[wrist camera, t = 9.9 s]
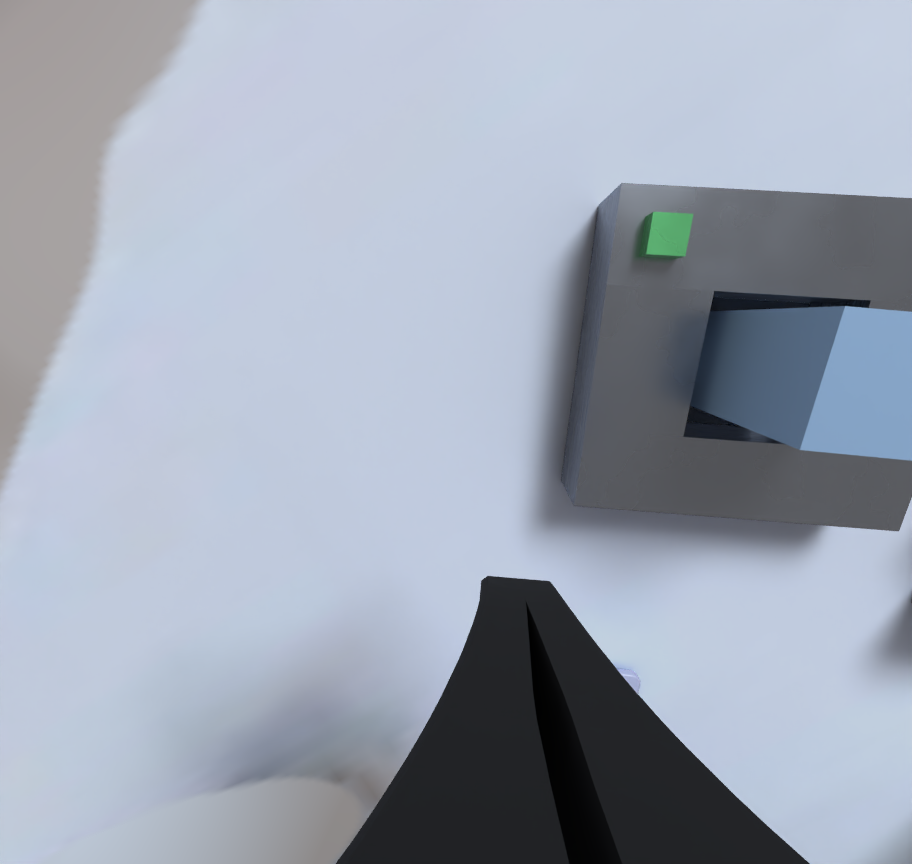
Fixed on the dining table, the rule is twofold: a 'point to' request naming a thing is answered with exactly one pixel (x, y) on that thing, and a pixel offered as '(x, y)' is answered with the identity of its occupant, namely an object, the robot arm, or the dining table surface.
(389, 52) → the dining table surface
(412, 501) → the dining table surface
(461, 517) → the dining table surface
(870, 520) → the port block
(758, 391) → the plug
